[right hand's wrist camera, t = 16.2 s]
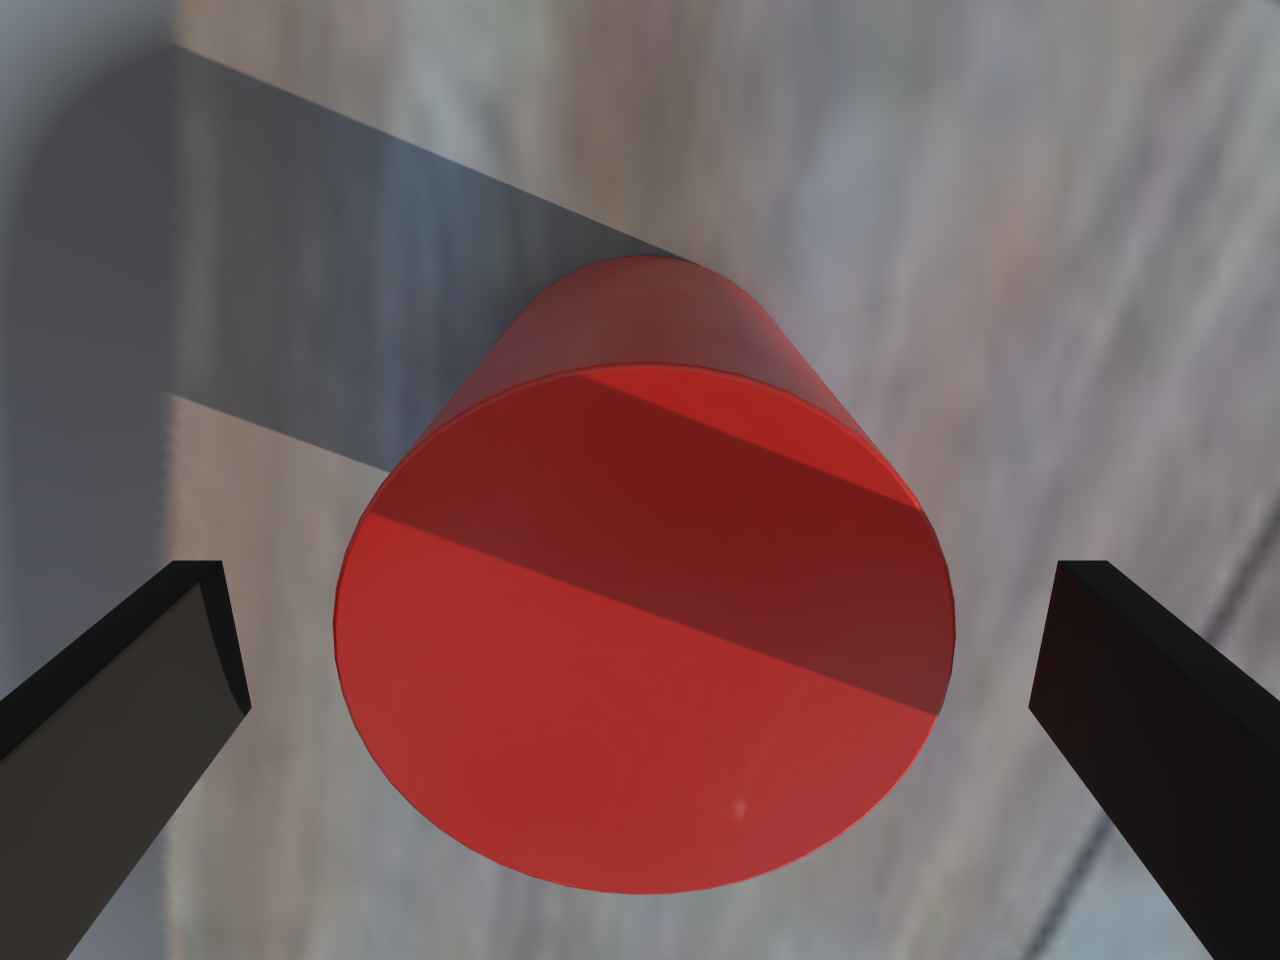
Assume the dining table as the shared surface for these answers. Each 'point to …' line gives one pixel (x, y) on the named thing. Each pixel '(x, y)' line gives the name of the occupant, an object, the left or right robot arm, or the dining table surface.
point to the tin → (644, 597)
